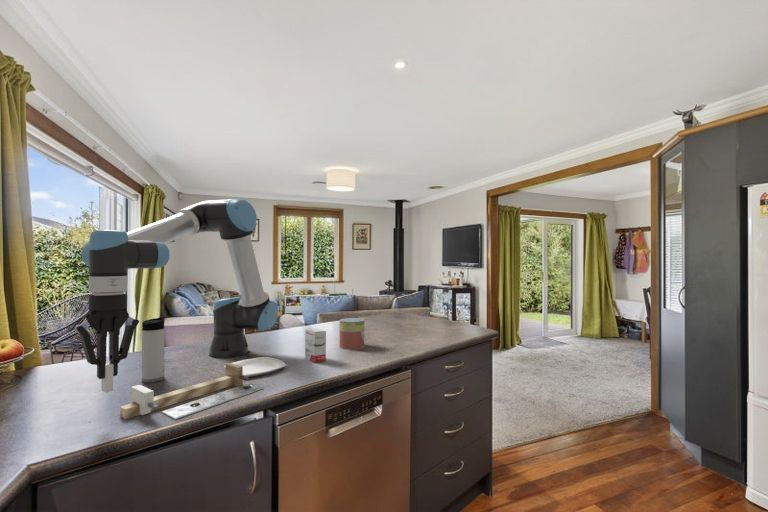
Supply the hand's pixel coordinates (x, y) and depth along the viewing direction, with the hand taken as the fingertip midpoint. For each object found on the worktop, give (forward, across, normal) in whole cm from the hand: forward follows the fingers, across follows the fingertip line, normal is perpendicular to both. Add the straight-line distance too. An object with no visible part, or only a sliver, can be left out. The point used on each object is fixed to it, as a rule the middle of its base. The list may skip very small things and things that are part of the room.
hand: (107, 390), depth 89 cm
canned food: (+7, +92, 0) cm, 92 cm away
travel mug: (+8, +21, +25) cm, 34 cm away
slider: (+7, +7, -3) cm, 11 cm away
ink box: (+7, +68, -2) cm, 68 cm away
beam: (+8, +19, -3) cm, 21 cm away
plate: (+8, +47, +7) cm, 48 cm away
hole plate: (+8, +23, -8) cm, 26 cm away
